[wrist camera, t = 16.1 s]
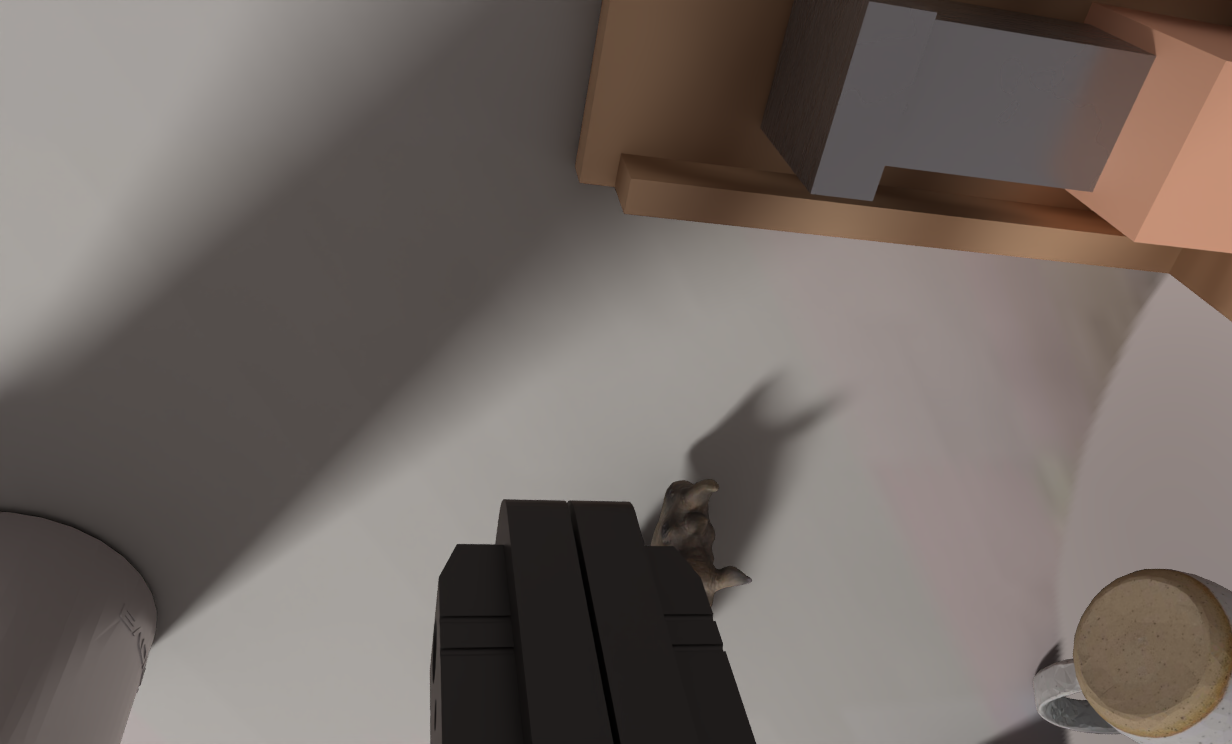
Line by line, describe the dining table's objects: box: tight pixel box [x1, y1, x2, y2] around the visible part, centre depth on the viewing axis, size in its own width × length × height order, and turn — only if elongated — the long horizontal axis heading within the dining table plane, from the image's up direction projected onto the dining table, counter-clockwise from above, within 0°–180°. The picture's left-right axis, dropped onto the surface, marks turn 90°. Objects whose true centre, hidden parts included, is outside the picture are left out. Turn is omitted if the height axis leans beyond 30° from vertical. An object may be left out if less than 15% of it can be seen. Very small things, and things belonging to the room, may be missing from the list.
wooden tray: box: [575, 0, 1232, 321], centre depth 25 cm, size 20×9×8 cm, turn 79°
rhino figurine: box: [651, 479, 752, 606], centre depth 35 cm, size 4×14×6 cm, turn 160°
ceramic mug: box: [1033, 569, 1232, 744], centre depth 41 cm, size 11×8×8 cm
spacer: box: [1065, 2, 1232, 253], centre depth 26 cm, size 4×4×6 cm
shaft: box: [760, 0, 1156, 201], centre depth 24 cm, size 8×4×4 cm, turn 79°
